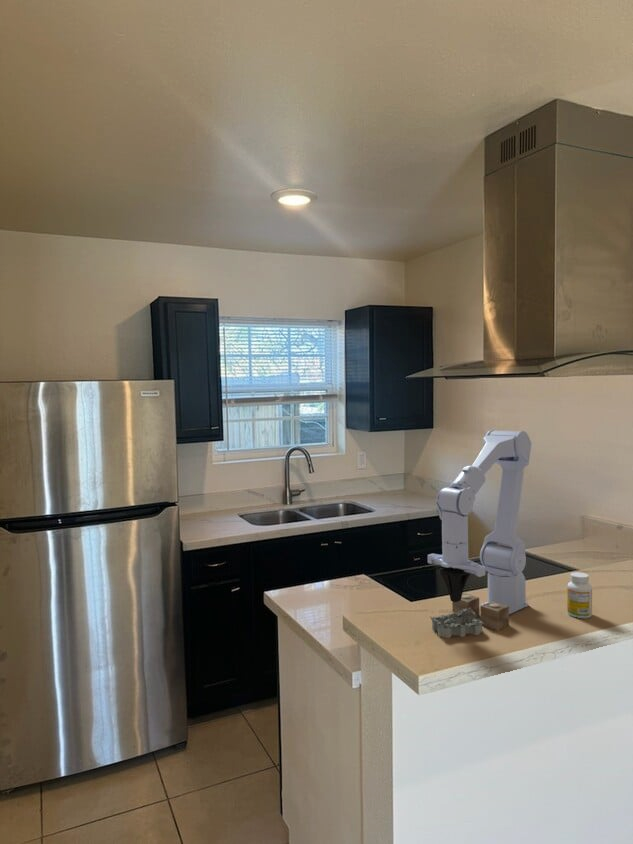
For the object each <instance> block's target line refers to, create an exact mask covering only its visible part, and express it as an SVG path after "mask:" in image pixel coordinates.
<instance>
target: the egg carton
mask: <svg viewBox="0 0 633 844" xmlns="http://www.w3.org/2000/svg"><path fill="white" fill-rule="evenodd" d="M430 620H431V624H432V627H431V630H433V631H436V632H437V636H438V637H440V638H441V637H442V638H445V639H451V638H452V636H459V637H460V638H462V637H463V638H464V637H466V635H474V636H480V633H482V631H483V625H482V624H484V623H483V622H482V621H481V618H478V616H477V617H476V614H475V613H474V612H473V611H472V610H471V608H465V609H461V610H459V611H458V612H457V613H454V612H453V611H452V612H451V613H448V614H442V615H439V616H430Z"/></svg>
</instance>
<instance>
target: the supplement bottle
mask: <svg viewBox="0 0 633 844" xmlns="http://www.w3.org/2000/svg"><path fill="white" fill-rule="evenodd" d="M589 582H590V575H589V574H587V573H585V572H579V571H578V572H577V571H576V572H575V571H574V572H571V573H570V581H569V582H568V583H567V587H566V588H567V589H566V590H567V594H566V595H567V605H566V606H567V609H566V610H567V614H568V615H569V616H570V617H573V618H576V617H577V619H589V618H591V617H592V616H593V587H592V585H591V584H590V583H589Z"/></svg>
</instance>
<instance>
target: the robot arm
mask: <svg viewBox="0 0 633 844" xmlns="http://www.w3.org/2000/svg"><path fill="white" fill-rule="evenodd" d="M482 440H483V441H482V446H483V447H482V449H481V450H480V452H479V454H478V455H477V456H476V458H475V460H474V462H473V463H472V465H467V466H464V467H463V468H462V469H461V471H460V472H459V474H458V475H457V476H456V478H455V479H454V480H453V481H452V482H451V484H450V485H449V486H448V487H443V488H442V489H440V491H439V492H438V493H437V496H436V500H435V506H436V509H437V511H438V512H439V513H438V514H439V519H440V520H441V542H442V543H441V549H442V551H441V552H442V553H441V554H438V553H429V554H427V563H428V564H431V565H433V564H435V565H438V566H441V567H443V568H442V569H440V570H439V574H440V575H441V577H442V579H443V581H444V583H445V585H446V588H447V591H448V595H449V598H450V601H451V602H452V601H453V602H458V601H461V597H462V593H464V589H465V585H466V584H467V581H468V579H469V578H470V576H471V575H472V574H473V575H475V576H476V577H478V578H481V577H483V576H486V572H487V601H486V602H483V603H481V604H480V606H482V605H484V604H487V603H489V602H491V601H492V602H496V603H499V604H503V605H506V606H509V615H510V614H511V615H512V614H513V613H515V612H517V611H520V610H521V609H524V608H526V607H529V606H530V603H528V602H526V601H527V600H526V599H527V597H526V596H527V595H526V593H527V588H526V587H527V586H526V585H527V584H526V577H525V576H524V573H523V571H524V570H525V567H526V564H527V557H526V544H525V542H524V541H523V540H522V539H521V538H520V537H519V536H518V535H517V529H518V521H519V520H518V519H519V511H520V505H521V498H522V496H521V495H522V490H523V484H524V483H523V482H524V474H525V468H526V467H528V466H529V464H530V457H531V449H532V442H531V441H532V440H531V438H530V437H529V434H528V433H527V432H526V431H525V430H519V431H517V430H514V431H513V430H494V429H489V430H488V431H487V432H486V434H485V436H483V439H482ZM494 464H498V465H499V466H500V467H501V469H502V473H501V480H500V487H499V495H498V501H497V510H496V516H495V522H494V523H495V524H494V531H492V532H490V533H489V534H487V535H486V536H484V540H483V544H482V547H481V549H480V550H479V560H480V563H481V564H479V563H478V562H474V561H473V560H470V559H469V514H470V513H471V512H472V510H473V508H474V503H475V501H476V495H477V494H478V492H479V491H480V489H481V488H482V487H483V485H484V484H485V483H486V476H485V475H486V473H488V471H489V470H490V469H491V468H492V467H493V465H494ZM499 543H500V544H499ZM503 544H504V545H503Z"/></svg>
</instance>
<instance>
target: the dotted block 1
mask: <svg viewBox="0 0 633 844" xmlns="http://www.w3.org/2000/svg"><path fill="white" fill-rule="evenodd" d="M451 602H452V606H451V607H452V613H453V612H454V613H457V612H458V611H459V610H461V609H465V608H471V610H472V611H473V612H474V613H475V614H476V617H477V618H478V617H481V614H480V597H479V596H475V595H472V594H468V593H465V592H463V593H462V597H461V601H458V602H453V601H451Z"/></svg>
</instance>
